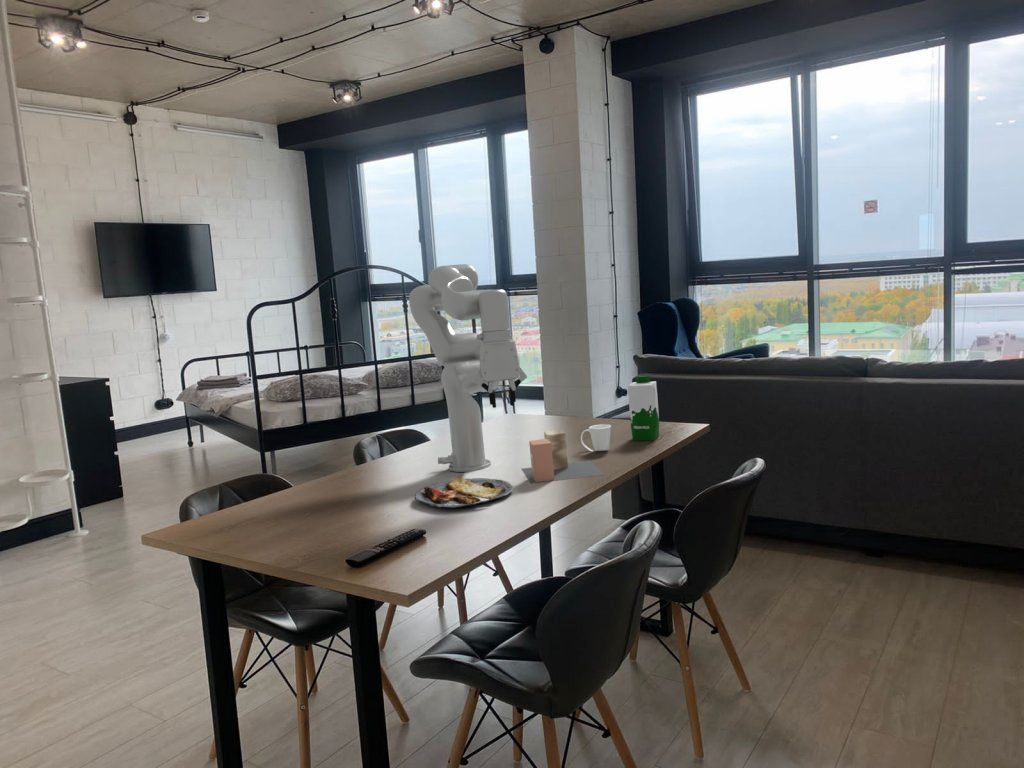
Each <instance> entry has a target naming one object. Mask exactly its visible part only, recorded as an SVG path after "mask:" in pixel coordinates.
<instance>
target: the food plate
mask: <svg viewBox="0 0 1024 768" xmlns="http://www.w3.org/2000/svg"><path fill="white" fill-rule="evenodd" d="M513 490H514V486H513V485H512V483H510V482H509V481H506V480H502V479H495V478H486V477H485V478H484V477H483V478H481V477H474V478H465V477H464V476H463V475H458V476H456V477H455V478H453V479H452V480H446V481H442V482H436V483H433V484H430V485H427V486H424V487H422V488H421V489H419V490H418V491H416V492H415V494H414V500H417V501H420V502H421V503H425V504H427V505H429V506H430V507H433V508H434V507H437V508H442V507H443V508H453V509H454V508H465V507H470V506H472V507H473V506H475V505H477V504H481V503H486V502H489V501H492V500H495V499H496V500H497V499H498V498H501V497H505V496H507V495H509V494H510V493H511V492H512V491H513ZM480 498H482V499H487V500H482V499H480Z"/></svg>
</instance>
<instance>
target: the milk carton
mask: <svg viewBox="0 0 1024 768" xmlns="http://www.w3.org/2000/svg"><path fill="white" fill-rule="evenodd" d="M627 392H628V393H627V395H628V407H629V421H630V431H631V437H632V441H655V440H657V438H658V437H659V436H660V414H659V402H658V399H659V398H658V389H657V381H656V380H655V381H652V380H651V381H650V374H649V375H647V374H644V375H637V376H636V381H635V382H634V381H633V382H632V383H629V384H628V385H627Z"/></svg>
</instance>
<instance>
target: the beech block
mask: <svg viewBox="0 0 1024 768" xmlns="http://www.w3.org/2000/svg"><path fill="white" fill-rule="evenodd" d="M543 436H544V439H548V440H549V441H550V442H551V445H552V457H553V469H554V470H557V469H565V468H568V463H569V461H568V451H567V450H568V449H567V439H566V432H565V431H564V430H563V429H554V430H553V429H552V430H545V431H543Z"/></svg>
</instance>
